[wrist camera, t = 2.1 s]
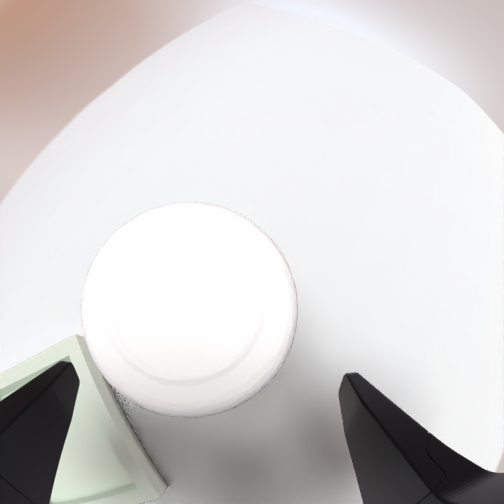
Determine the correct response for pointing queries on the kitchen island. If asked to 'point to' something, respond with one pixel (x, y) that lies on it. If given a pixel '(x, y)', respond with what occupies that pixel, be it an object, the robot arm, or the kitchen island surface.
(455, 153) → the kitchen island surface
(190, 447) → the kitchen island surface
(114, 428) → the tray
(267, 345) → the sprinkles bottle
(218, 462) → the kitchen island surface
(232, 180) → the kitchen island surface
